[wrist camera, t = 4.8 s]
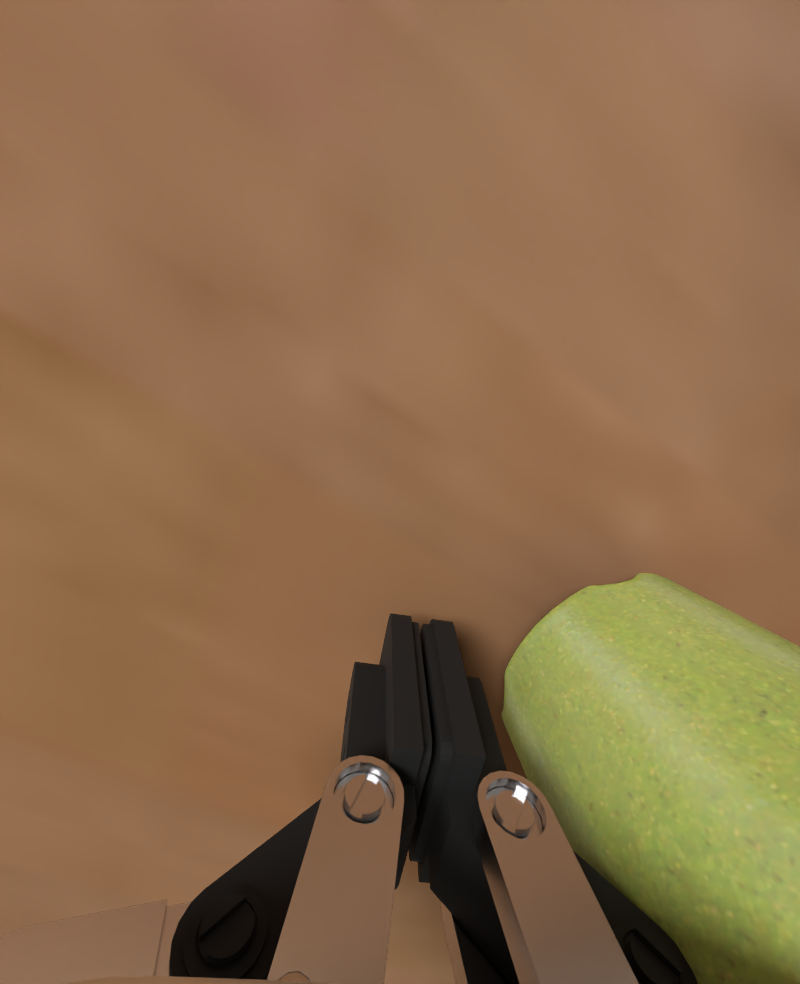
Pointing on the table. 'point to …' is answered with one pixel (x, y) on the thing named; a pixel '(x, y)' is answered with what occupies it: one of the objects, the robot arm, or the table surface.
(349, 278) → the table surface
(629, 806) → the plant pot
